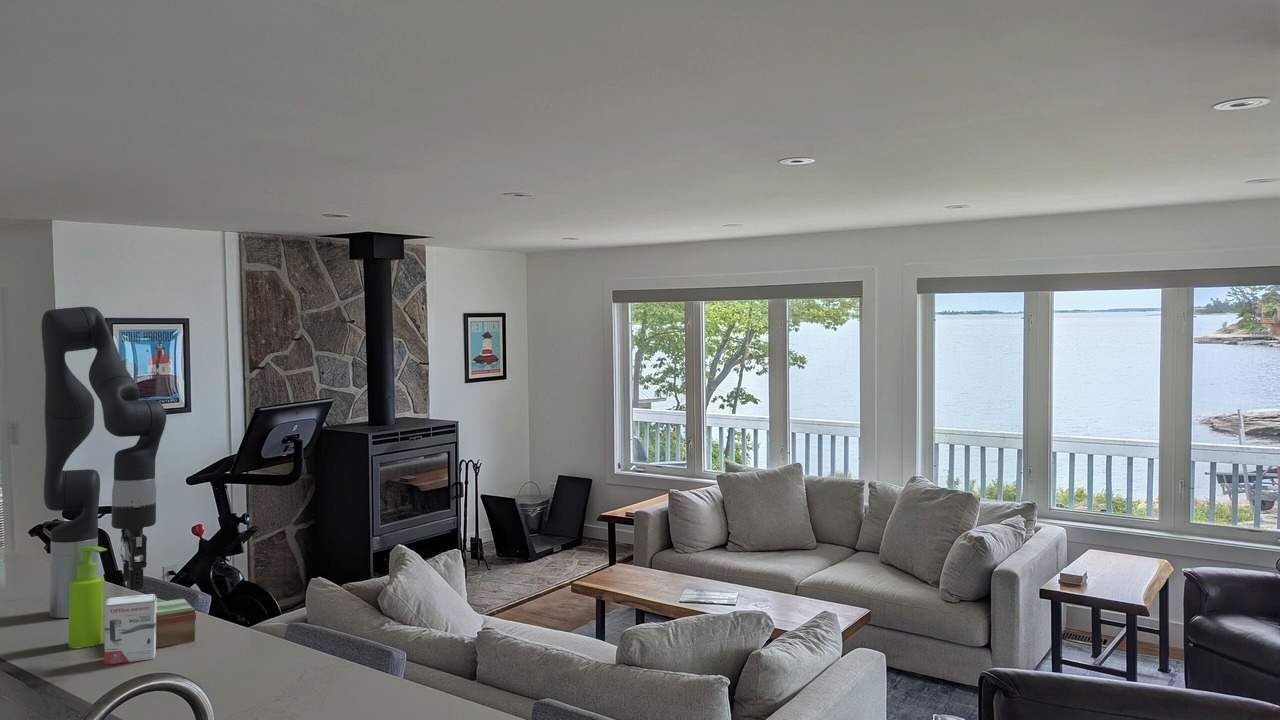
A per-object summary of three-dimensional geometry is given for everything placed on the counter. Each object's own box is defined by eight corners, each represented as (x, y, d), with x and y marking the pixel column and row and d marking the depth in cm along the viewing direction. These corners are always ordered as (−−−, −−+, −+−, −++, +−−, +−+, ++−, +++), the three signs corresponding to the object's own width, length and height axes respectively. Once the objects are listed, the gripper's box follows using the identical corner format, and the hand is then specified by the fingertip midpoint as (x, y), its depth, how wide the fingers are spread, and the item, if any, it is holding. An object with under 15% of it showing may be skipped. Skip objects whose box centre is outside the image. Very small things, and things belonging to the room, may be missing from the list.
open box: (121, 640, 180) (122, 606, 180) (185, 629, 187) (185, 597, 188) (129, 653, 172) (129, 617, 172) (195, 641, 179) (195, 608, 179)
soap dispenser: (90, 649, 174) (91, 550, 174) (61, 647, 175) (63, 548, 175) (113, 641, 179) (114, 544, 180) (85, 638, 181) (86, 543, 181)
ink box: (103, 666, 164) (104, 603, 164) (105, 658, 168) (106, 597, 169) (155, 659, 168) (156, 598, 168) (156, 652, 172) (157, 592, 173)
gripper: (107, 499, 172) (105, 581, 172) (116, 508, 161) (115, 595, 160) (150, 496, 177) (148, 576, 176) (162, 504, 165) (160, 589, 165)
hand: (132, 585), depth 168 cm, fingers open, 8 cm apart
